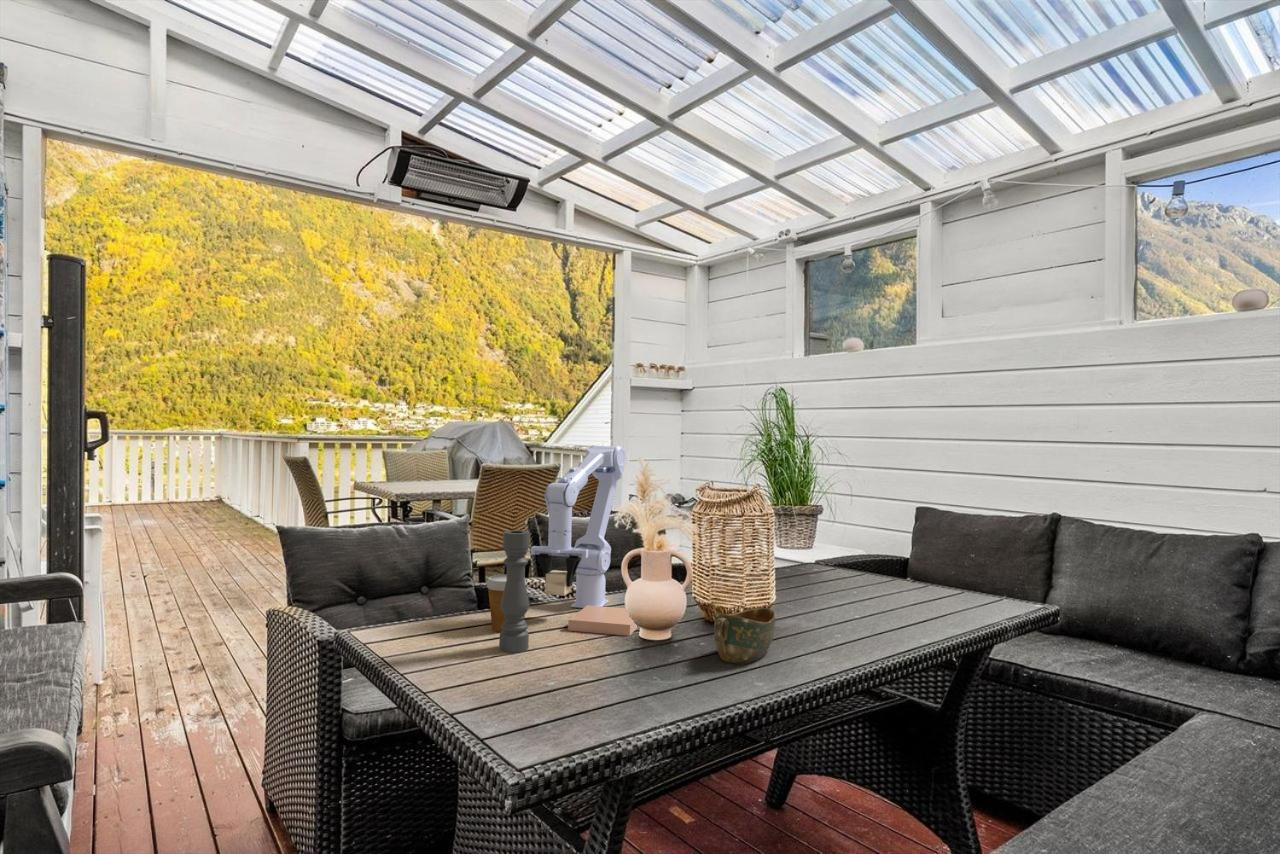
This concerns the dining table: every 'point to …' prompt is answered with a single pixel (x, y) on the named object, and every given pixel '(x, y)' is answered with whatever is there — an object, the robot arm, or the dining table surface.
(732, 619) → the creamer
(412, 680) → the dining table surface
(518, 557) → the candle holder
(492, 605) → the disposable coffee cup
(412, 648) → the dining table surface
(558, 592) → the birch block
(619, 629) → the terracotta base
